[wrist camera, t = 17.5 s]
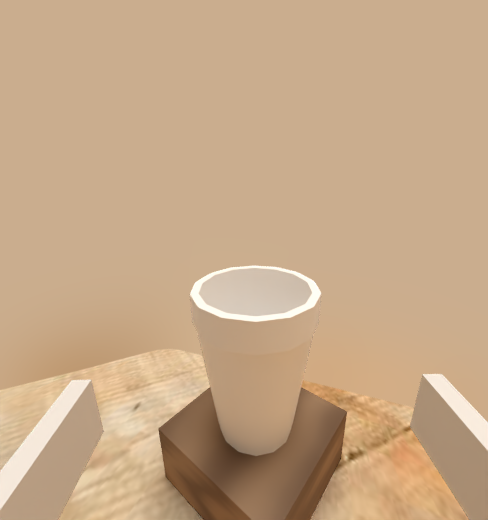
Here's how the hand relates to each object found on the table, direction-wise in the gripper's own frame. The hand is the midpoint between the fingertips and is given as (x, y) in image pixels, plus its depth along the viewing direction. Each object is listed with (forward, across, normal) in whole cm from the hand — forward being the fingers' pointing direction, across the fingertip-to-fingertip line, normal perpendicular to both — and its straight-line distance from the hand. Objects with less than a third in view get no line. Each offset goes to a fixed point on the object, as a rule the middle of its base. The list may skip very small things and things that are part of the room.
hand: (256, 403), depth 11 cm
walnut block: (+10, 0, -18) cm, 21 cm away
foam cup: (+10, 0, -13) cm, 16 cm away
